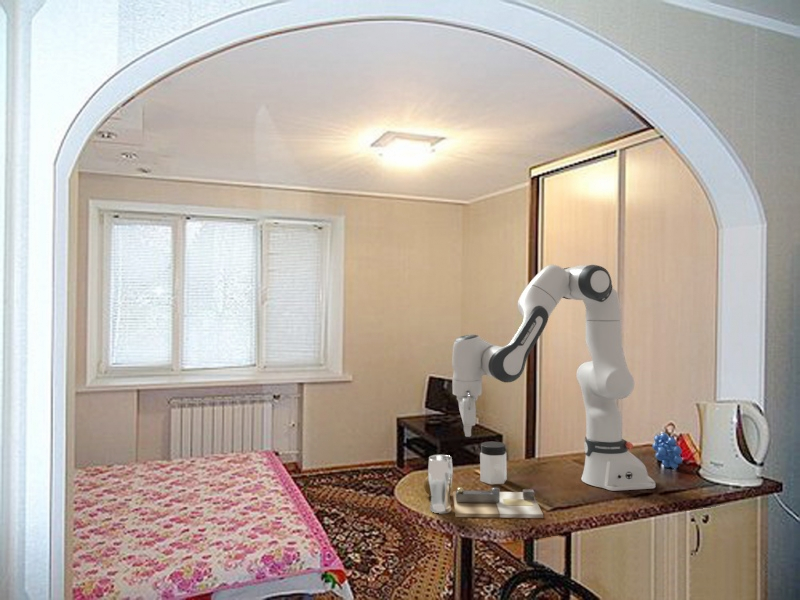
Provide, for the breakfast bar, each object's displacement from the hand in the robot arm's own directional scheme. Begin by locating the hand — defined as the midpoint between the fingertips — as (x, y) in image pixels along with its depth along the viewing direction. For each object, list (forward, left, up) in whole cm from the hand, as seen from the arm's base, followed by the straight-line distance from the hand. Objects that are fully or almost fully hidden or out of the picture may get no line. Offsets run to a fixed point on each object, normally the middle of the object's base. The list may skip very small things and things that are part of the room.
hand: (467, 434), depth 176 cm
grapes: (-72, -32, -19) cm, 81 cm away
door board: (-8, +7, -19) cm, 22 cm away
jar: (-10, -16, -19) cm, 27 cm away
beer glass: (+8, +11, -19) cm, 24 cm away
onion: (+9, -1, -19) cm, 22 cm away
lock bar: (-2, +7, -18) cm, 19 cm away
